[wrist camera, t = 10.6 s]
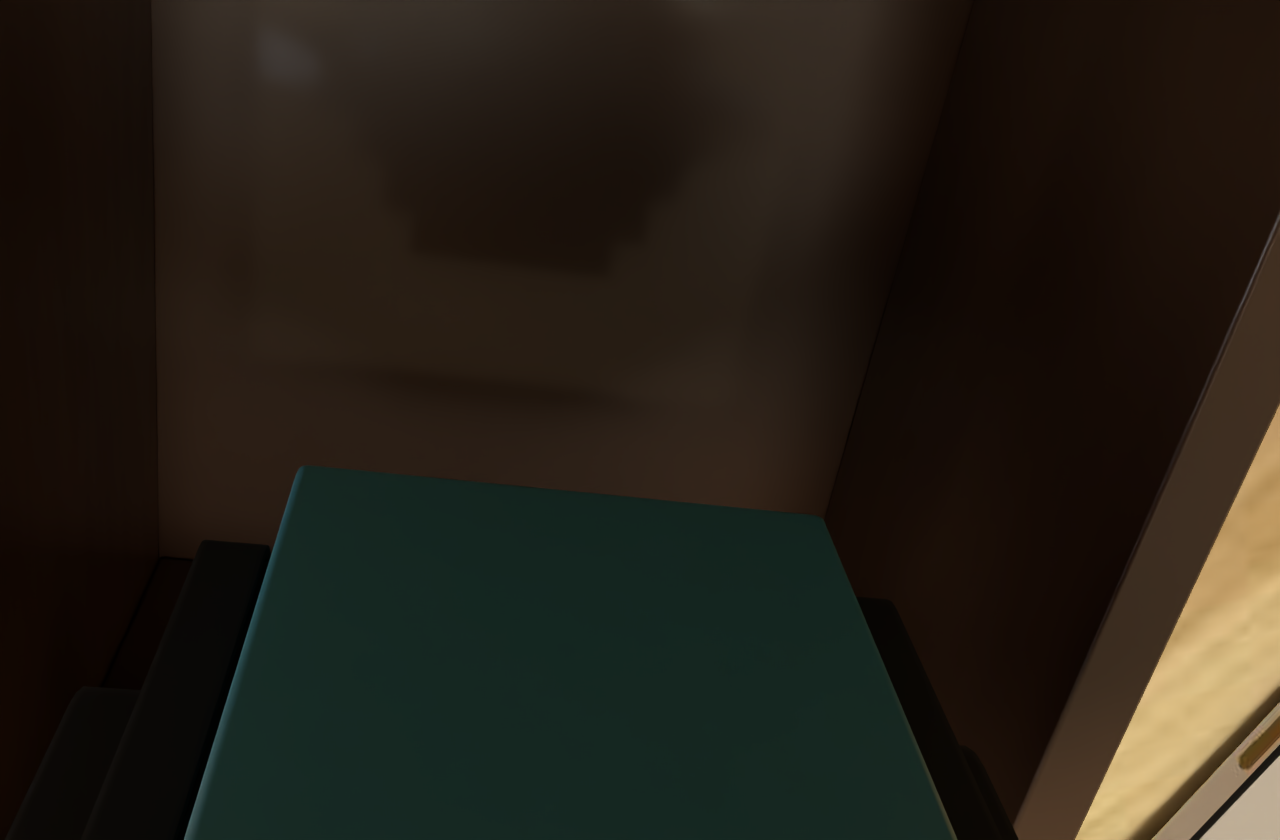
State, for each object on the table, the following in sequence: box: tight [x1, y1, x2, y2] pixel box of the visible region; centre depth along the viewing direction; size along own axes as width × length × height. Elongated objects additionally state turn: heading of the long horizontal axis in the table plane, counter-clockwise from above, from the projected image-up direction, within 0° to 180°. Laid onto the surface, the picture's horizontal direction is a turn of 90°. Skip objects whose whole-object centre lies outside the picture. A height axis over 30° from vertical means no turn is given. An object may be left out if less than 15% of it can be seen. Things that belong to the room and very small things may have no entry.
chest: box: [0, 0, 1280, 840], centre depth 14 cm, size 16×13×9 cm
